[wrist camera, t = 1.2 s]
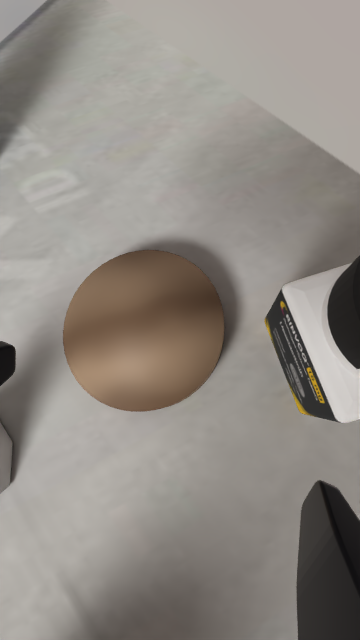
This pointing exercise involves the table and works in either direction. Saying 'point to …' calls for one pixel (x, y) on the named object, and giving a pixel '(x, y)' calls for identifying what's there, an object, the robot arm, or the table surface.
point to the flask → (5, 458)
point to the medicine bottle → (321, 341)
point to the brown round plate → (144, 331)
